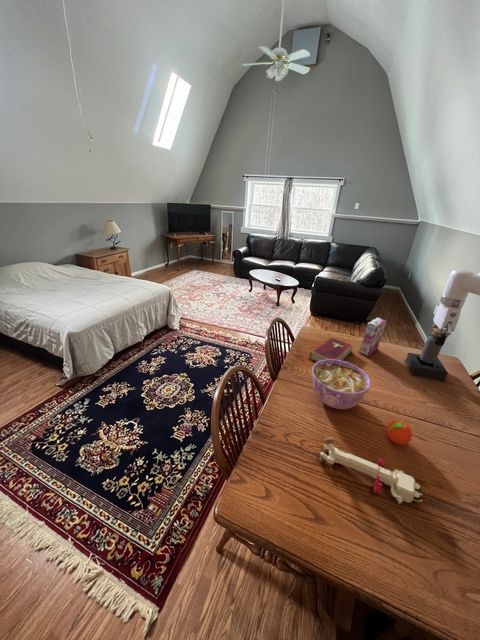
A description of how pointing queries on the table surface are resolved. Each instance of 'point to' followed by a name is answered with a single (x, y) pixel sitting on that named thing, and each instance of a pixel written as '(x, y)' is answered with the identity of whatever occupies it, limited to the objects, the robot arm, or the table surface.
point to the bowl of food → (339, 383)
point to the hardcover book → (331, 350)
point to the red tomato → (399, 432)
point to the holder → (426, 368)
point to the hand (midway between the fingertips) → (435, 340)
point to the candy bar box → (372, 336)
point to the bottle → (431, 347)
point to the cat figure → (375, 473)
